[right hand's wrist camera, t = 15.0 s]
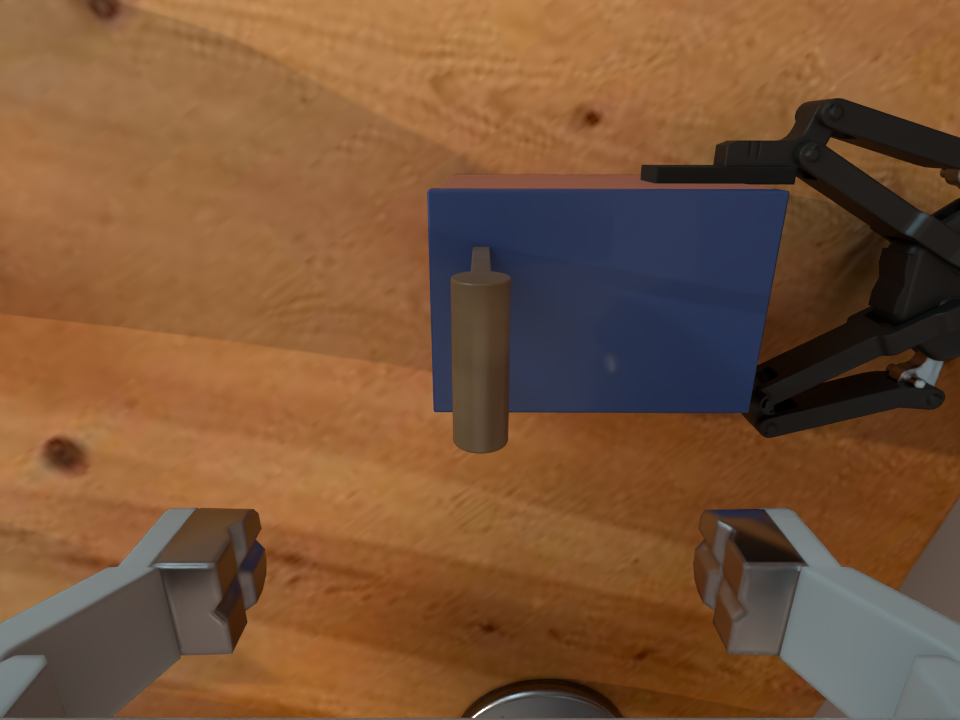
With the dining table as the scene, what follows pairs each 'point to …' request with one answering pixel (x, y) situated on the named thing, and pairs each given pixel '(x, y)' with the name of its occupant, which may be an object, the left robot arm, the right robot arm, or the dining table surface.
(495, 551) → the dining table surface
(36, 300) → the dining table surface
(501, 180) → the chest
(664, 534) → the dining table surface
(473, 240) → the lid
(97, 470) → the dining table surface
